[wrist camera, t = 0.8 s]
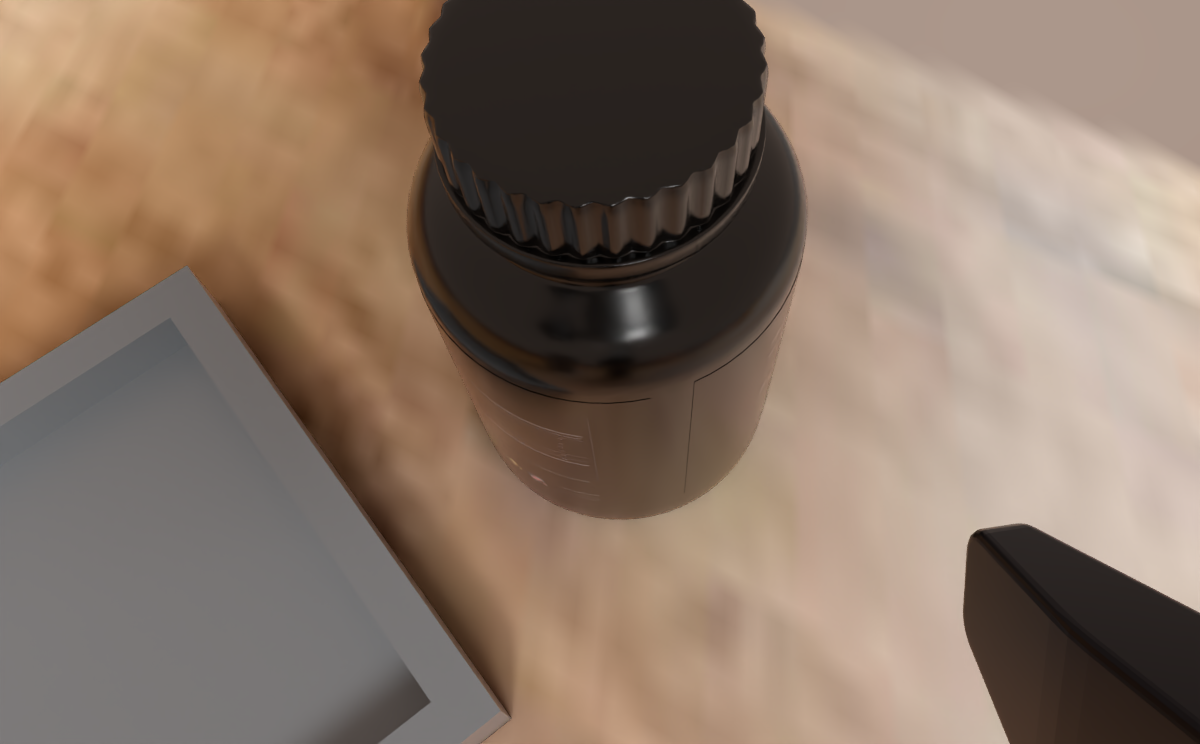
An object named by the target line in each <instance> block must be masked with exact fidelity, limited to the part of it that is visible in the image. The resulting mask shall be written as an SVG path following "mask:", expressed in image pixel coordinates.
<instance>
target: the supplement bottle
mask: <svg viewBox="0 0 1200 744" xmlns="http://www.w3.org/2000/svg"><path fill="white" fill-rule="evenodd" d="M764 55H765V37H764V36H763V34H762V33H761V31H760V30H759V29H758V27H757V26H756V13H755V11H754V10H753V9H752V8H751V7H750V6H749V5H748V4H747V3H746V2H744V1H743V0H448V1H446V2H445V3H444V4H443V6H442V10H441V16H440V18H439V19H438V20H437V21H436V22H434V24H433V25H432V26H431V27H430V28H429V43H428V44H427V46H426V47H425V49H424V50H423V52H422V54H421V64H422V68H423V72H422V74H421V77H420V81H419V90H420V94H421V97H422V100H423V103H424V118H425V121H426V125H427V128H428V130H429V133H430V136H431V137H430V138H429V140H428V142H427V144H426V146H425V148H424V151H423V153H422V155H421V157H420V159H419V162H418V165H417V167H416V170H415V173H414V176H413V180H412V184H411V189H410V193H409V199H408V208H407V238H408V247H409V252H410V257H411V261H412V266H413V269H414V272H415V275H416V278H417V281H418V283H419V286H420V289H421V292H422V295H423V297H424V299H425V301H426V304H427V306H428V308H429V310H430V312H431V314H432V317H433V319H434V321H435V323H436V325H437V327H438V329H439V331H440V334H441V336H442V338H443V340H444V342H445V344H446V346H447V349H448V351H449V353H450V355H451V357H452V359H453V361H454V364H455V366H456V368H457V370H458V372H459V374H460V376H461V378H462V381H463V383H464V385H465V387H466V389H467V391H468V393H469V396H470V398H471V400H472V402H473V404H474V406H475V408H476V411H477V413H478V415H479V417H480V419H481V421H482V423H483V425H484V427H485V430H486V432H487V434H488V436H489V437H490V439H491V441H492V443H493V445H494V447H495V448H496V450H497V452H498V453H499V455H500V457H501V458H502V459H503V461H504V462H505V463H506V465H507V466H508V467H509V468H510V470H511V471H512V472H513V473H514V474H515V475H516V476H517V477H518V478H519V479H520V480H521V481H522V482H523V483H524V484H525V485H526V486H528V487H529V488H530V489H531V490H532V491H534V492H535V493H537V494H538V495H540V496H541V497H543V498H544V499H546V500H548V501H550V502H551V503H553V504H555V505H557V506H560V507H562V508H564V509H567V510H569V511H572V512H576V513H579V514H582V515H586V516H591V517H596V518H604V519H637V518H644V517H650V516H655V515H659V514H662V513H666V512H669V511H672V510H674V509H677V508H679V507H682V506H684V505H686V504H688V503H690V502H692V501H694V500H696V499H697V498H699V497H700V496H702V495H703V494H705V493H707V492H708V491H709V490H710V489H712V488H713V487H714V486H716V485H717V484H718V483H719V482H720V481H721V480H722V479H723V478H724V477H725V476H726V475H727V474H728V473H729V472H730V471H731V470H732V469H733V468H734V466H735V465H736V464H737V463H738V461H739V460H740V458H741V457H742V455H743V454H744V452H745V451H746V449H747V447H748V445H749V443H750V441H751V440H752V438H753V435H754V433H755V431H756V428H757V426H758V423H759V420H760V416H761V413H762V410H763V407H764V404H765V400H766V397H767V393H768V389H769V385H770V381H771V378H772V374H773V370H774V366H775V362H776V358H777V355H778V351H779V347H780V343H781V339H782V336H783V332H784V328H785V324H786V320H787V316H788V313H789V309H790V305H791V301H792V297H793V294H794V290H795V286H796V282H797V278H798V274H799V270H800V266H801V262H802V257H803V251H804V246H805V239H806V231H807V197H806V191H805V185H804V179H803V175H802V172H801V168H800V165H799V161H798V159H797V156H796V154H795V152H794V149H793V147H792V144H791V142H790V141H789V139H788V137H787V135H786V133H785V132H784V130H783V128H782V126H781V125H780V123H779V122H778V121H777V119H776V118H775V116H774V115H773V114H772V112H771V111H770V109H769V108H768V107H767V106H766V105H765V104H764V101H765V95H766V88H767V81H768V66H767V63H766V60H765V57H764Z"/></svg>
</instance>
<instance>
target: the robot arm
mask: <svg viewBox="0 0 1200 744" xmlns="http://www.w3.org/2000/svg"><path fill="white" fill-rule="evenodd" d="M963 619H964V626H965V631H966V635H967V639H968V642H969V645H970V647H971V650H972V652H973V655H974V657H975V660H976V662H977V664H978V667H979V669H980V672H981V674H982V677H983V679H984V682H985V684H986V687H987V689H988V692H989V694H990V696H991V699H992V701H993V704H994V706H995V709H996V711H997V714H998V716H999V719H1000V721H1001V723H1002V726H1003V728H1004V731H1005V733H1006V736H1007V738H1008V741H1009V743H1010V744H1200V613H1199V612H1197V611H1195V610H1193V609H1191V608H1189V607H1188V606H1186V605H1184V604H1182V603H1180V602H1178V601H1176V600H1174V599H1172V598H1170V597H1168V596H1166V595H1164V594H1162V593H1160V592H1159V591H1157V590H1155V589H1153V588H1151V587H1149V586H1147V585H1145V584H1143V583H1141V582H1139V581H1137V580H1135V579H1133V578H1131V577H1130V576H1128V575H1126V574H1124V573H1122V572H1120V571H1118V570H1116V569H1114V568H1112V567H1110V566H1108V565H1106V564H1104V563H1102V562H1101V561H1099V560H1097V559H1095V558H1093V557H1091V556H1089V555H1087V554H1085V553H1083V552H1081V551H1079V550H1077V549H1075V548H1073V547H1071V546H1070V545H1068V544H1066V543H1064V542H1062V541H1060V540H1058V539H1056V538H1054V537H1052V536H1050V535H1048V534H1046V533H1044V532H1042V531H1041V530H1039V529H1037V528H1035V527H1032V526H1030V525H1027V524H1011V525H1004V526H998V527H991V528H985V529H979V530H977V531H976V532H974V533H973V534H972V535H971V537H970V539H969V542H968V546H967V557H966V573H965V589H964V605H963Z"/></svg>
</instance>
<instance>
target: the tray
mask: <svg viewBox="0 0 1200 744" xmlns="http://www.w3.org/2000/svg"><path fill="white" fill-rule="evenodd" d="M510 719H512V718H511V717H510V716H509V714H508V713H507V711H506V710H505V709H504V707H503V706H502V704H501V703H500V701H499V700H498V699H497V697H496V696H495V694H494V693H493V692H492V690H491V689H490V687H489V686H488V684H487V683H486V682H485V680H484V679H483V677H482V676H481V675H480V673H479V672H478V670H477V669H476V667H475V666H474V665H473V663H472V662H471V660H470V659H469V658H468V656H467V655H466V653H465V652H464V650H463V649H462V648H461V646H460V645H459V643H458V642H457V641H456V639H455V638H454V636H453V635H452V633H451V632H450V631H449V629H448V628H447V626H446V625H445V624H444V622H443V621H442V619H441V618H440V616H439V615H438V614H437V612H436V611H435V609H434V608H433V607H432V605H431V604H430V602H429V601H428V599H427V598H426V597H425V595H424V594H423V592H422V591H421V590H420V588H419V587H418V585H417V584H416V582H415V581H414V580H413V578H412V577H411V575H410V574H409V573H408V571H407V570H406V568H405V567H404V565H403V564H402V563H401V561H400V560H399V558H398V557H397V556H396V554H395V553H394V551H393V550H392V549H391V547H390V546H389V544H388V543H387V541H386V540H385V539H384V537H383V536H382V534H381V533H380V532H379V530H378V529H377V527H376V526H375V524H374V523H373V522H372V520H371V519H370V517H369V516H368V515H367V513H366V512H365V510H364V509H363V507H362V506H361V505H360V503H359V502H358V500H357V499H356V498H355V496H354V495H353V493H352V492H351V490H350V489H349V488H348V486H347V485H346V483H345V482H344V481H343V479H342V478H341V476H340V475H339V473H338V472H337V471H336V469H335V468H334V466H333V465H332V464H331V462H330V461H329V459H328V458H327V456H326V455H325V454H324V452H323V451H322V449H321V448H320V447H319V445H318V444H317V442H316V441H315V439H314V438H313V437H312V435H311V434H310V432H309V431H308V430H307V428H306V427H305V425H304V424H303V422H302V421H301V420H300V418H299V417H298V415H297V414H296V413H295V411H294V410H293V408H292V407H291V405H290V404H289V403H288V401H287V400H286V398H285V397H284V396H283V394H282V393H281V391H280V390H279V388H278V387H277V386H276V384H275V383H274V381H273V380H272V379H271V377H270V376H269V374H268V373H267V371H266V370H265V369H264V367H263V366H262V364H261V363H260V362H259V360H258V359H257V357H256V356H255V354H254V353H253V352H252V350H251V349H250V347H249V346H248V345H247V343H246V342H245V340H244V339H243V337H242V336H241V335H240V333H239V332H238V330H237V329H236V328H235V326H234V325H233V323H232V322H231V320H230V319H229V318H228V316H227V315H226V313H225V312H224V311H223V309H222V308H221V306H220V305H219V303H218V302H217V301H216V299H215V298H214V297H213V296H212V295H211V293H210V292H209V291H208V290H207V289H206V287H205V286H204V285H203V284H202V283H201V281H200V280H199V279H198V278H197V277H196V275H195V274H194V273H193V272H192V271H191V269H190V268H189V267H188V266H185V267H184V268H182V269H180V270H179V271H177V272H176V273H174V274H172V275H171V276H169V277H168V278H166V279H164V280H163V281H161V282H160V283H158V284H157V285H155V286H153V287H152V288H150V289H149V290H147V291H145V292H144V293H142V294H141V295H139V296H138V297H136V298H134V299H133V300H131V301H130V302H128V303H126V304H125V305H123V306H122V307H120V308H119V309H117V310H115V311H114V312H112V313H111V314H109V315H107V316H106V317H104V318H103V319H101V320H100V321H98V322H96V323H95V324H93V325H92V326H90V327H88V328H87V329H85V330H84V331H82V332H81V333H79V334H77V335H76V336H74V337H73V338H71V339H69V340H68V341H66V342H65V343H63V344H62V345H60V346H58V347H57V348H55V349H54V350H52V351H50V352H49V353H47V354H46V355H44V356H43V357H41V358H39V359H38V360H36V361H35V362H33V363H31V364H30V365H28V366H27V367H25V368H24V369H22V370H20V371H19V372H17V373H16V374H14V375H12V376H11V377H9V378H8V379H6V380H5V381H3V382H1V383H0V744H481V743H482V742H483V741H484V740H486V739H487V738H488V737H489V736H491V735H492V734H493V733H494V732H495V731H497V730H498V729H499V728H500V727H502V726H503V725H504V724H505V723H507V722H508V721H509V720H510Z"/></svg>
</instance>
